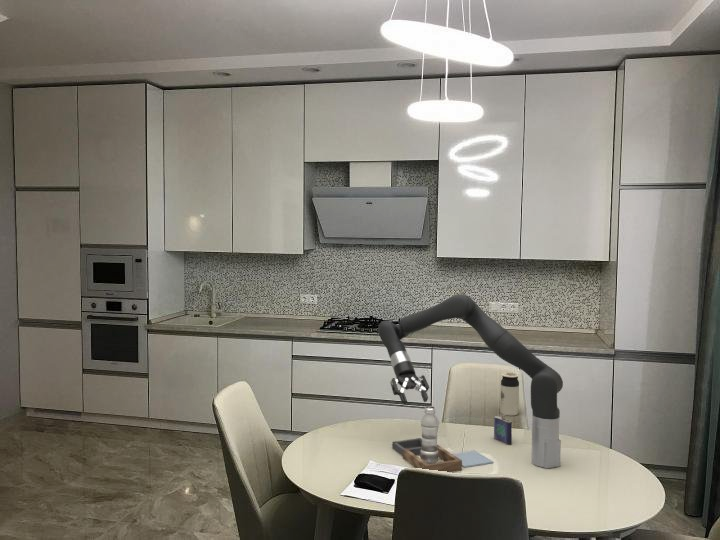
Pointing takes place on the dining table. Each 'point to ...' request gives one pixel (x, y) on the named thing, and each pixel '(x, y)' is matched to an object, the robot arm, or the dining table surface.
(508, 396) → the travel mug
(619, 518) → the dining table surface
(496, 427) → the flask
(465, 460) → the pad
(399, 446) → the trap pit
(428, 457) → the plastic bottle
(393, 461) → the dining table surface
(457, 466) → the walled lane
